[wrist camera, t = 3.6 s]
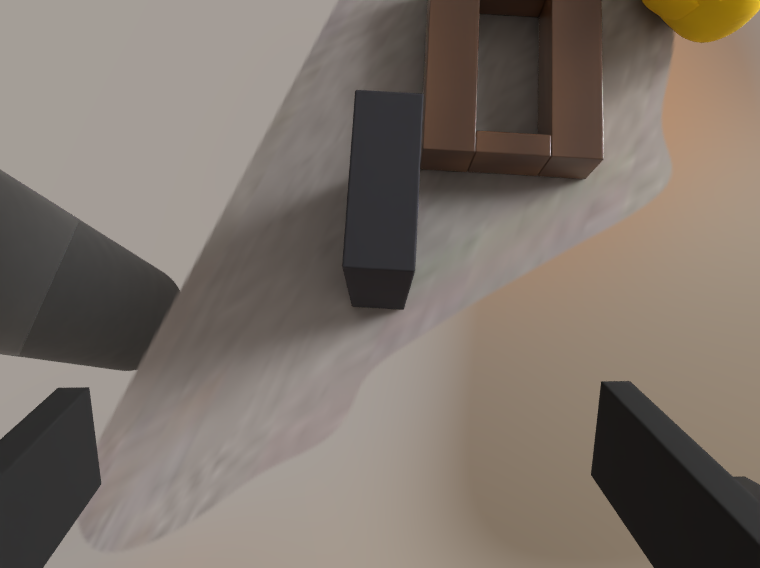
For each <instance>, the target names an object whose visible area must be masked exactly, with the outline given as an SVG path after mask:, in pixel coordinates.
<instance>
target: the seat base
mask: <svg viewBox="0 0 760 568" xmlns="http://www.w3.org/2000/svg"><path fill="white" fill-rule="evenodd" d="M479 14H494V15H511V16H529V17H539V59H538V134H525V133H508V132H491V131H476V110H477V77H478V43H479ZM423 95H424V99H423V120H422V140H421V161H420V169H425V170H442V171H459V172H467V171H468V172H479V173H496V174H513V175H530V176H537V175H538V176H544V177H561V178H578V179H586V178H587V177H588V176H589V174H590V173H591V172H592V171H593V170H594V169H595V168H596V167H597V166H598V165H599V164H600V163H601V161H602V160H603V159H604V144H603V77H602V10H601V0H427V20H426V40H425V61H424V81H423Z"/></svg>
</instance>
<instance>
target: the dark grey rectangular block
mask: <svg viewBox="0 0 760 568" xmlns="http://www.w3.org/2000/svg"><path fill="white" fill-rule="evenodd" d="M423 99H424V95H423V94H419V93H401V92H384V91H367V90H356V91H355V101H354V115H353V128H352V142H351V155H350V169H349V183H348V196H347V210H346V223H345V237H344V250H343V264H342V266H343V271H344V275H345V279H346V283H347V287H348V292H349V296H350V300H351V304H352V306H353V307H370V308H387V309H404V307H405V303H406V300H407V296H408V293H409V289H410V286H411V283H412V279H413V276H414V272H415V262H416V242H417V222H418V201H419V181H420V161H421V140H422V120H423Z"/></svg>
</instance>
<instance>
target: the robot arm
mask: <svg viewBox="0 0 760 568" xmlns="http://www.w3.org/2000/svg"><path fill="white" fill-rule="evenodd" d="M591 476H592V477H593V478H594V480H595V481H596V483H597V484H598V486H599V487H600V489H601V490H602V492H603V493H604V495H605V496H606V498H607V499H608V501H609V502H610V504H611V505H612V506H613V508H614V509H615V511H616V512H617V514H618V515H619V517H620V518H621V520H622V521H623V523H624V524H625V526H626V527H627V529H628V530H629V531H630V533H631V535H632V536H633V537H634V539H635V540H636V542H637V543H638V545H639V546H640V548H641V549H642V551H643V552H644V554H645V555H646V556H647V558H648V559H649V561H650V563H651V564H652V565H653V567H654V568H760V485H759V484H757V483H756V482H753V481H752V480H750V479H748V478H746V477H733V476H731V475H730V474H729V473H728V472H727V471H726V470H725V469H724V468H723V467H722V466H721V465H720V464H718V463H717V462H716V461H715V460H714V459H713V458H712V457H711V456H710V455H709V454H708V453H707V452H706V451H705V450H703V449H702V448H701V447H700V446H699V445H698V444H697V443H696V442H695V441H694V440H693V439H692V438H691V437H689V436H688V435H687V434H686V433H685V432H684V431H683V430H682V429H681V428H680V427H679V426H678V425H677V424H675V423H674V422H673V421H672V420H671V419H670V418H669V417H668V416H667V415H666V414H665V413H664V412H663V411H661V410H660V409H659V408H658V407H657V406H656V405H655V404H654V403H653V402H652V401H651V400H650V399H649V398H647V397H646V396H645V395H644V394H643V393H642V392H641V391H640V390H639V389H638V388H637V387H636V386H635V385H633V384H632V383H631V382H629V381H619V382H618V381H613V382H612V381H609V382H601V389H600V398H599V408H598V416H597V425H596V434H595V444H594V452H593V461H592V470H591ZM100 485H101V478H100V470H99V462H98V454H97V446H96V438H95V431H94V422H93V414H92V406H91V399H90V391H89V388H57V389H56V390H55V391H54V392H53V393H52V394H51V395H49V397H47V398H46V399H45V400H44V401H43V402H42V403H41V404H39V405H38V406H37V407H36V408H35V409H34V410H33V411H32V412H31V413H29V414H28V415H27V416H26V417H25V418H24V419H23V420H22V421H21V422H20V423H19V424H17V425H16V426H15V427H14V428H13V429H12V430H11V431H10V432H8V433H7V434H6V435H5V436H4V437H3V438H2V439H1V440H0V568H43V567H44V565H45V564H46V563H47V561H48V560H49V558H50V557H51V555H52V554H53V553H54V551H55V550H56V548H57V547H58V545H59V544H60V542H61V541H62V540H63V538H64V537H65V535H66V534H67V532H68V531H69V530H70V528H71V527H72V525H73V524H74V522H75V521H76V520H77V518H78V517H79V515H80V514H81V512H82V511H83V510H84V508H85V507H86V505H87V504H88V502H89V501H90V499H91V498H92V497H93V495H94V494H95V492H96V491H97V489H98V488H99V487H100Z"/></svg>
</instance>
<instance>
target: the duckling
mask: <svg viewBox="0 0 760 568" xmlns="http://www.w3.org/2000/svg"><path fill="white" fill-rule="evenodd" d="M642 2H643V3H644V5H645V6H646V7H647V8H649V9H650V10H651V11H653V12H654V13H656V14H657V15H659V16H660V17H661V18H662V20H663V21H664V22H665V23H666V24H667V25H668V26H669V27H671V28H672V29H673V30H674V31H675V32H676V33H677V34H679V35H680V36H681V37H683V38H685V39H688V40H690V41H694V42H700V43H704V42H711V41H715V40H718V39H721V38H723V37H726V36H728V35H730V34H732V33H733V32H735V31H737V30H738V29H739V28H740V27H742V26H743V25H744V24H745V23H747V22H748V21H749V20H750V19H751V18H752V17H753V16H754V15H755V14H756V13H757V12H758V11H759V9H760V0H642Z"/></svg>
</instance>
